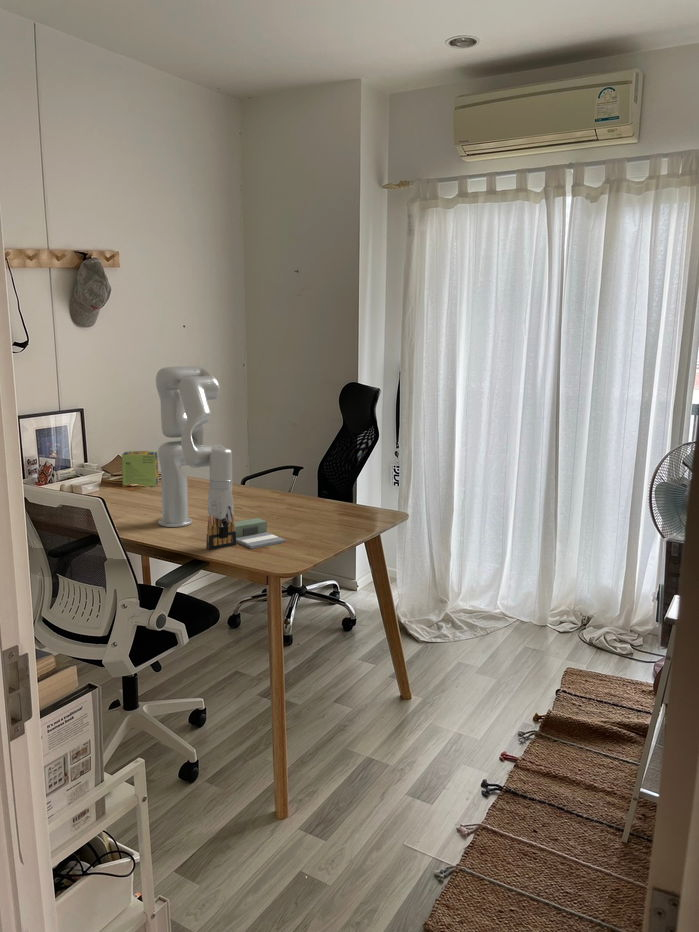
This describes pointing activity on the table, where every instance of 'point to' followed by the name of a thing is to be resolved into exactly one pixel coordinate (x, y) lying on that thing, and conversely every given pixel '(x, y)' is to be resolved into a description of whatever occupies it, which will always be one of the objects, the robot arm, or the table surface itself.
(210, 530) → the ammunition clip
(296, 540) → the table surface
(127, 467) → the protein box
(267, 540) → the plate with green block
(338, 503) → the table surface
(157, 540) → the table surface
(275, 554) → the table surface
